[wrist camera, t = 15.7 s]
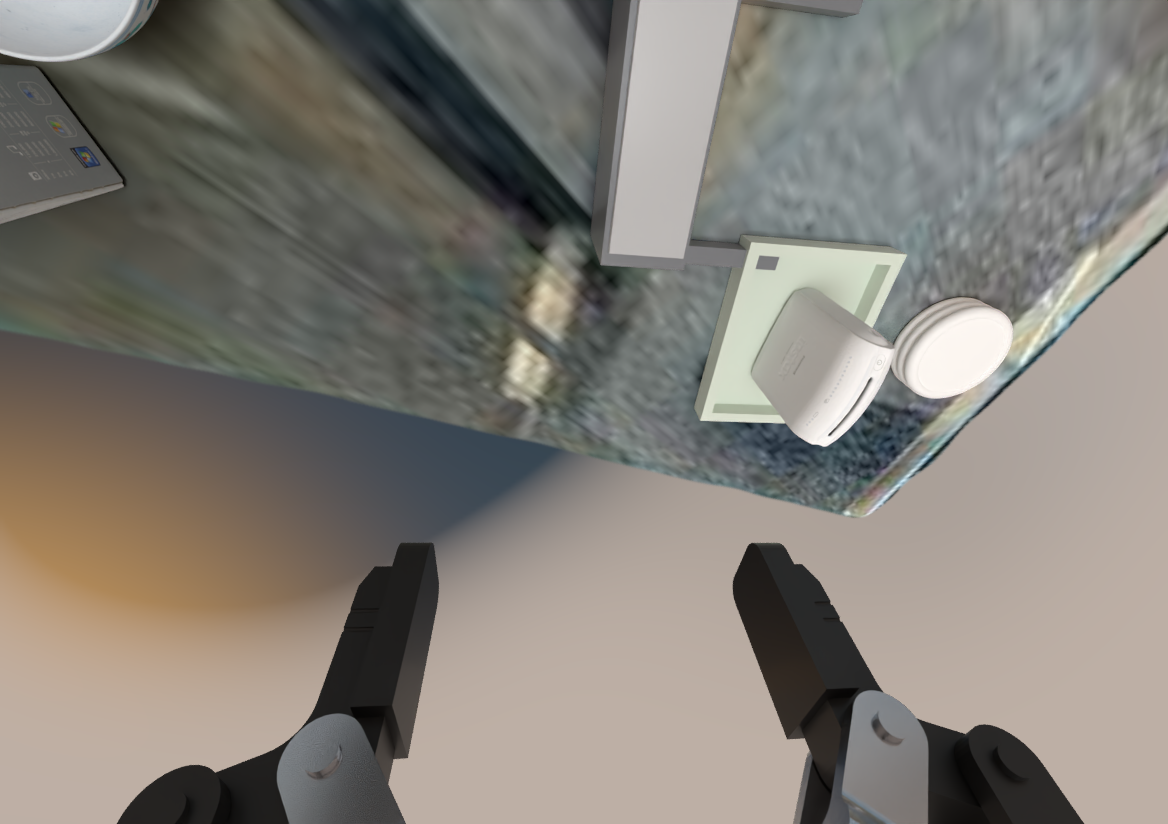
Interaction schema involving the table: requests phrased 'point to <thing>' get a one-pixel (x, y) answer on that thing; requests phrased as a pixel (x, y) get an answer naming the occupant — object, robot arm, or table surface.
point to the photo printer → (821, 366)
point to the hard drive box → (44, 149)
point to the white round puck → (951, 347)
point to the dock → (667, 128)
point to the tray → (759, 300)
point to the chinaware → (68, 27)
